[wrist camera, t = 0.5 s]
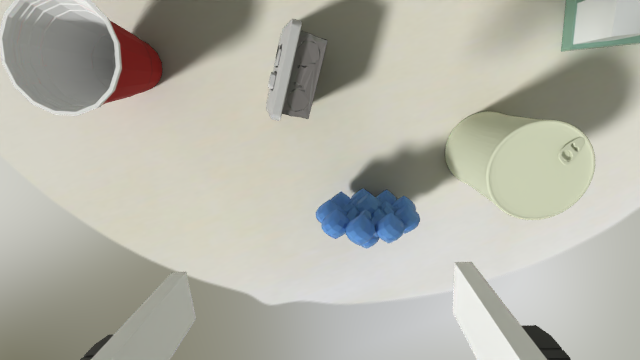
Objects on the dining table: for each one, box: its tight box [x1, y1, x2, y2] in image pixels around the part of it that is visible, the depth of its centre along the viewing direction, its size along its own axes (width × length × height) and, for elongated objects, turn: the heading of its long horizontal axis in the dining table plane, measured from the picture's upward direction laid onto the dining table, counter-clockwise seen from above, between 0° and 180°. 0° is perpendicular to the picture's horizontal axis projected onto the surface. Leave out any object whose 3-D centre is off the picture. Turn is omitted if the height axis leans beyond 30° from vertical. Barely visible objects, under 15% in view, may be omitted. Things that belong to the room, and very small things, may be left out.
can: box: [445, 111, 595, 220], centre depth 33 cm, size 9×9×12 cm
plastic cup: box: [0, 0, 162, 116], centre depth 33 cm, size 11×11×12 cm
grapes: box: [316, 188, 420, 248], centre depth 36 cm, size 12×7×12 cm, turn 89°
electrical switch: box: [266, 19, 327, 121], centre depth 34 cm, size 9×5×9 cm, turn 165°
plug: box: [573, 0, 640, 45], centre depth 31 cm, size 4×4×5 cm
